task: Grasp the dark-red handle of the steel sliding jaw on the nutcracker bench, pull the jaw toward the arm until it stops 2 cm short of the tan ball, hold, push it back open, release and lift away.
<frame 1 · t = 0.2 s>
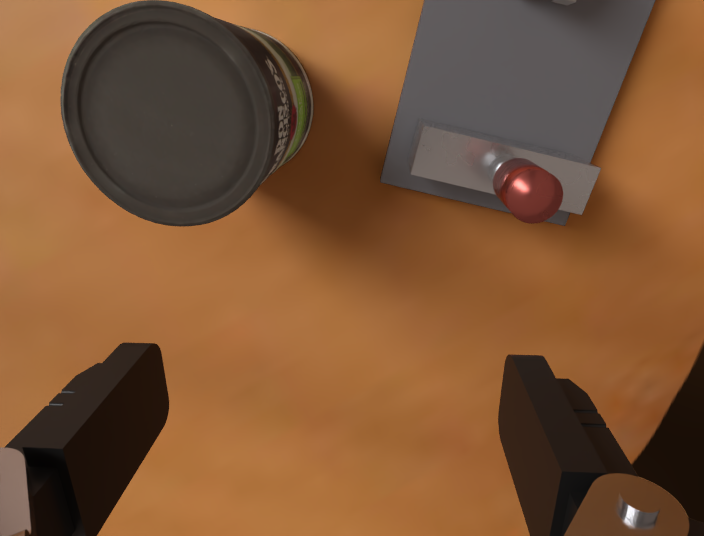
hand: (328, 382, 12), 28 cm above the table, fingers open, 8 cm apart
coffee can: (244, 103, 37), on the table
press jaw: (508, 174, 30), point 8 cm above the table, slide at 0.0 cm
nutcracker bench: (516, 53, 35), on the table
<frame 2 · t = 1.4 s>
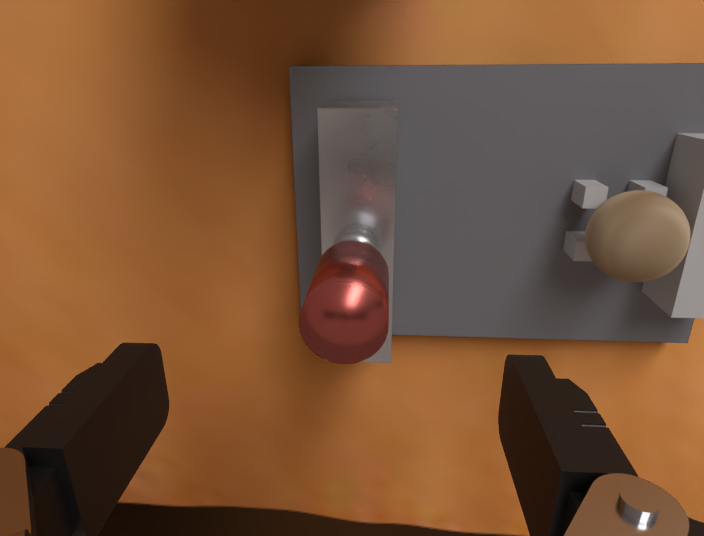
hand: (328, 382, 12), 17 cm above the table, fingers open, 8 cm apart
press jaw: (356, 254, 20), point 8 cm above the table, slide at 0.0 cm
nutcracker bench: (497, 207, 27), on the table
tan ball: (635, 236, 22), point 5 cm above the table, touching nutcracker bench
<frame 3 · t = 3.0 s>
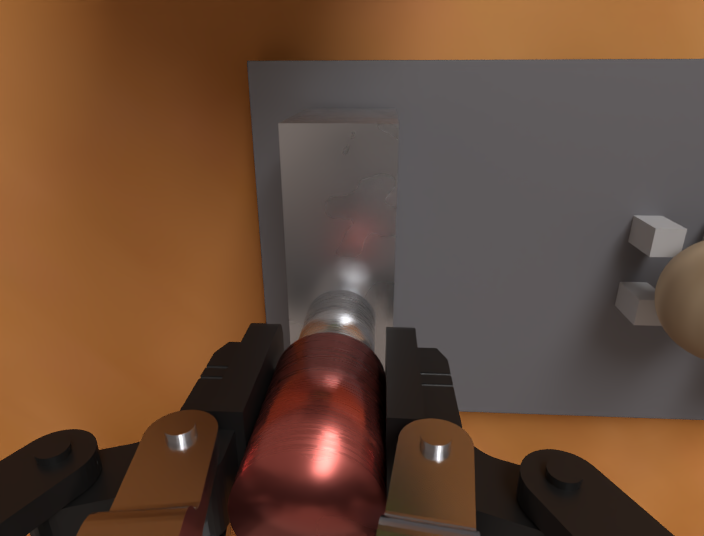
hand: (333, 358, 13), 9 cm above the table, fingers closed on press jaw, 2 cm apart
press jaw: (338, 336, 14), point 8 cm above the table, slide at 0.0 cm, touching gripper
nutcracker bench: (526, 247, 20), on the table
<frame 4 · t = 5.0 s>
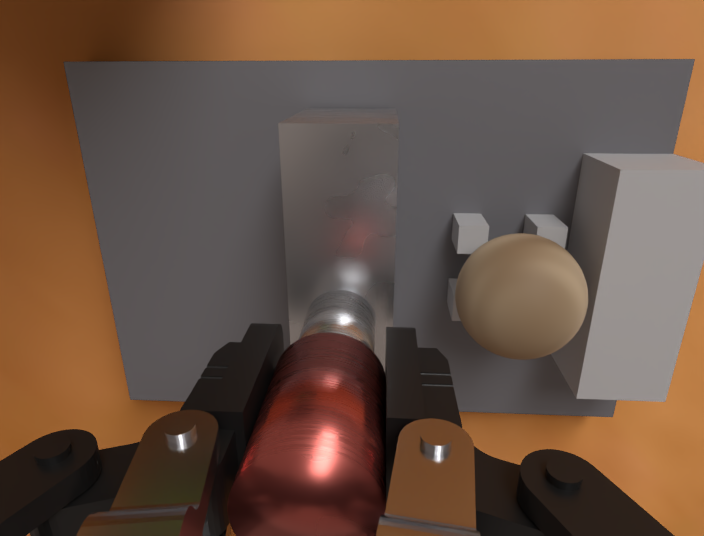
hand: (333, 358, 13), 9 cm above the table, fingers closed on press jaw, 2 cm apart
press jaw: (338, 337, 14), point 8 cm above the table, slide at 6.5 cm, touching gripper
nutcracker bench: (367, 244, 21), on the table
tan ball: (519, 296, 16), point 5 cm above the table, touching nutcracker bench
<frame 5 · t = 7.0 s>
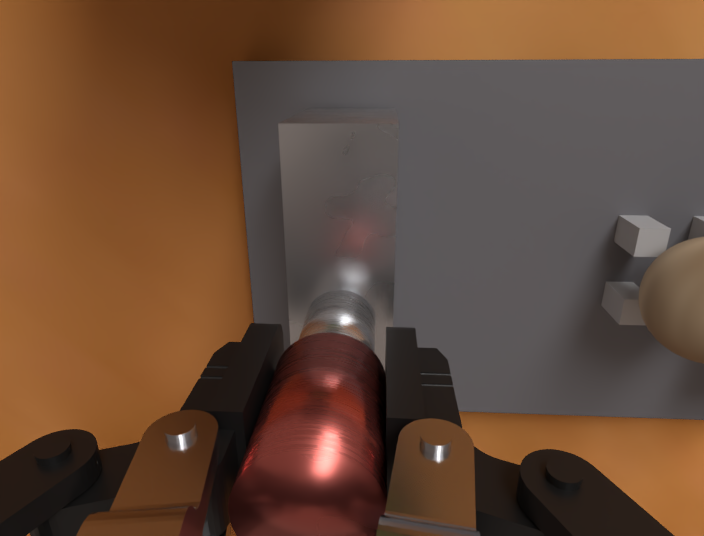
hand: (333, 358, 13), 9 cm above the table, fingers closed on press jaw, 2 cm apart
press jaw: (338, 337, 14), point 8 cm above the table, slide at 0.5 cm, touching gripper
nutcracker bench: (513, 247, 20), on the table
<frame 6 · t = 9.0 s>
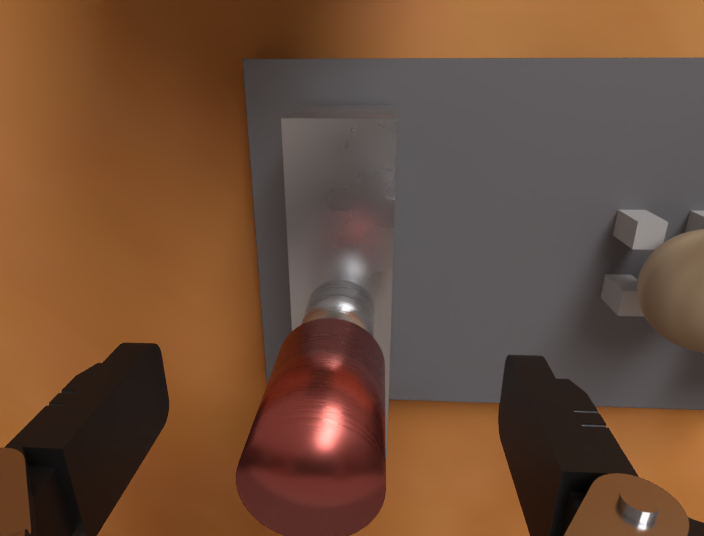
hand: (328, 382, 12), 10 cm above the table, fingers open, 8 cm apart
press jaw: (338, 324, 14), point 8 cm above the table, slide at 0.3 cm
nutcracker bench: (514, 241, 21), on the table
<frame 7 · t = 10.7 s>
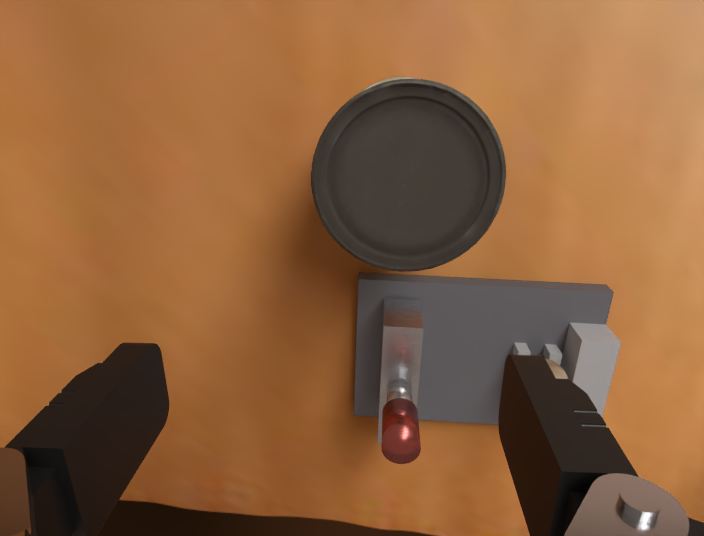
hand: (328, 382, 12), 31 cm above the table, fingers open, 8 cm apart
coffee can: (401, 144, 40), on the table
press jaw: (399, 395, 39), point 8 cm above the table, slide at 0.3 cm
nutcracker bench: (471, 349, 46), on the table
tan ball: (542, 382, 41), point 5 cm above the table, touching nutcracker bench
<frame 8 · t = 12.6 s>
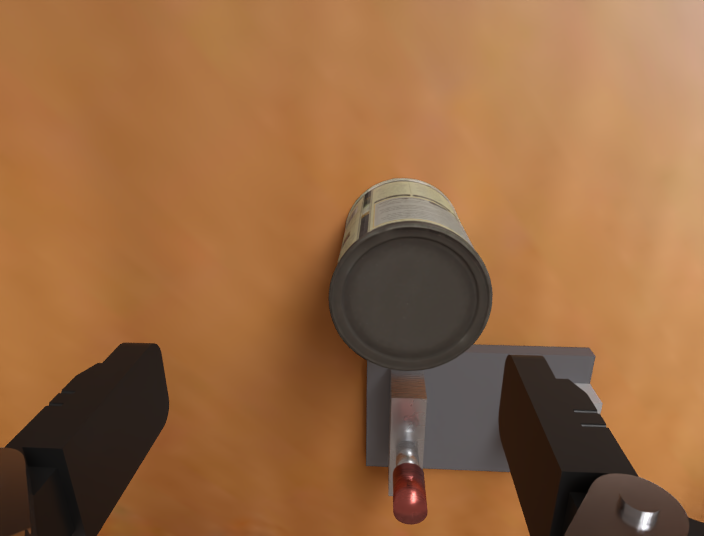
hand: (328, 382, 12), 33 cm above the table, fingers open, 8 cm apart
coffee can: (402, 233, 45), on the table
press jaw: (407, 456, 44), point 8 cm above the table, slide at 0.3 cm
nutcracker bench: (470, 405, 51), on the table
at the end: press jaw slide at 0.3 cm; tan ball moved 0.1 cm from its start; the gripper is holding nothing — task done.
